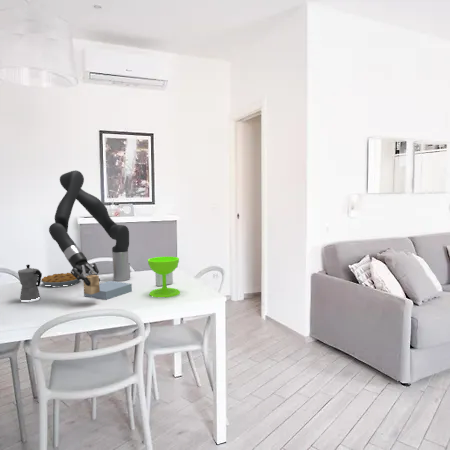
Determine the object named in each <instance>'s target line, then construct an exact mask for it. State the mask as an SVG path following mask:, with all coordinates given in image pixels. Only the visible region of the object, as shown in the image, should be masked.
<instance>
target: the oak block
mask: <svg viewBox="0 0 450 450" xmlns="http://www.w3.org/2000/svg"><path fill="white" fill-rule="evenodd" d="M86 277H87V278H88V280H89V281H90V282H91V284H90V285H89V286H87V285H86V284H85V283H84V281H83V280H82V281H83V294H84V293H85V294H91V295H92V294H95V293H98V292H100V287H99V284H100V282H99V279H100V275H99V274H97V275H88V274H87V275H86Z"/></svg>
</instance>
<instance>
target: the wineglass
mask: <svg viewBox="0 0 450 450" xmlns="http://www.w3.org/2000/svg"><path fill="white" fill-rule="evenodd" d="M147 262H148V266H149V268H150V269H151V271H152V272H153V273H154V274H155V273H157V274H160V275H162V282H163V285H162V286H161V287H160V288H156V289H152V290H151V291H150V292H149V294H148V295H149V296H150V295H151V296H150V297H152V296H153V297H152V298H158V297H165V298H172V297H176V296H178V295H180V293H181V291H180V289H178V288H175V287H174V288H173V287H167V285H166V274H169V273H171V272H172V273H173V272H175V270H176V269H177V267H178V266H179V262H180V257H176V256H156V257H151V258H150V257H149V258H148V259H147Z"/></svg>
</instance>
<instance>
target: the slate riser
mask: <svg viewBox="0 0 450 450" xmlns="http://www.w3.org/2000/svg"><path fill="white" fill-rule="evenodd" d="M132 285H133V284H132V283H127V282H123V281H114V280H113V281H112V280H108V281H105V282H101V283H99V287H100V292H98V293H95V294H92V295H91V294H85V293H84V292H83V296H84V297H88V298H94V299H101V300H110V299H113V298H115V297H118V296H122V295H125V294H127V293H131V292H133V287H132Z"/></svg>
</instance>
